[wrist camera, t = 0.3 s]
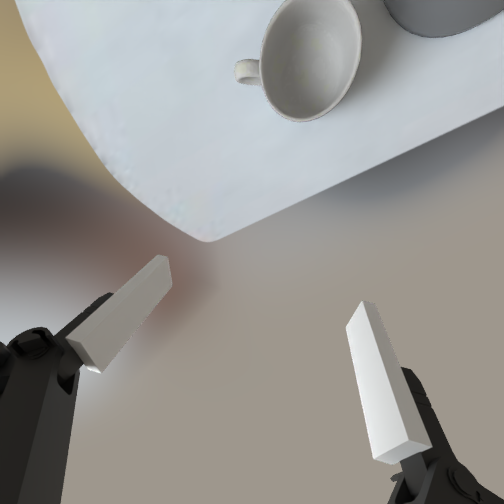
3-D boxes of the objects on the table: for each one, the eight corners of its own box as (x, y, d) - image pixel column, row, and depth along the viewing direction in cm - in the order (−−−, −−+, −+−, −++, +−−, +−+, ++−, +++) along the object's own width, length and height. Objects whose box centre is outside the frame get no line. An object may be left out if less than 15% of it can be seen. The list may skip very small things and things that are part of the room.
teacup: (357, 36, 25) (383, -9, 18) (328, 134, 30) (339, 128, 23) (251, 21, 26) (237, -27, 19) (240, 117, 31) (225, 107, 24)
